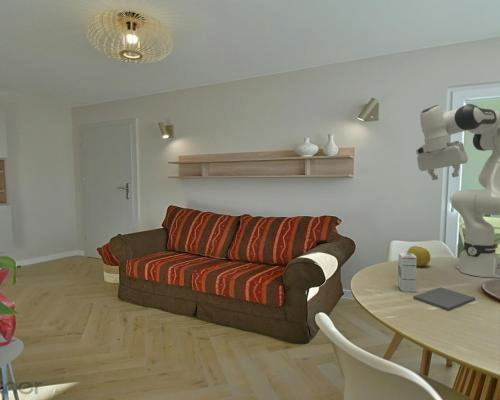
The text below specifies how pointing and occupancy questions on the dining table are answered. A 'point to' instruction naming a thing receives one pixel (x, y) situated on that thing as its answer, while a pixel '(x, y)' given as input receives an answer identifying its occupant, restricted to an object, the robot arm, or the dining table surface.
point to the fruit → (420, 255)
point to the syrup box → (407, 272)
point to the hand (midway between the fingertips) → (445, 178)
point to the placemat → (444, 298)
